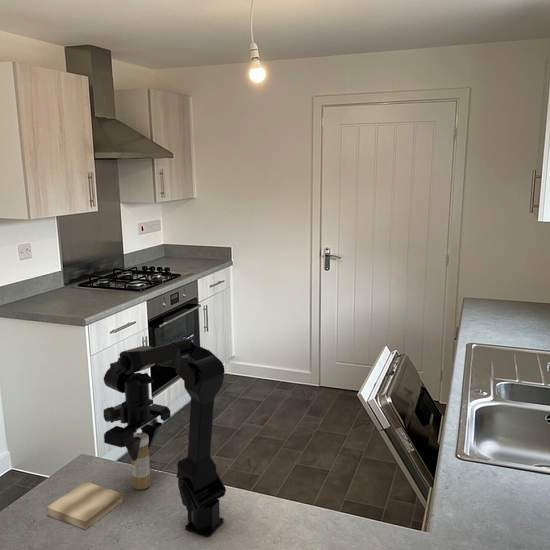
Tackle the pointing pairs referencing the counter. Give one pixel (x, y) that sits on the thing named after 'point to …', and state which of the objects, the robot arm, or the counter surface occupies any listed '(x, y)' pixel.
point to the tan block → (85, 505)
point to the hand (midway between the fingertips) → (140, 455)
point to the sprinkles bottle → (141, 464)
